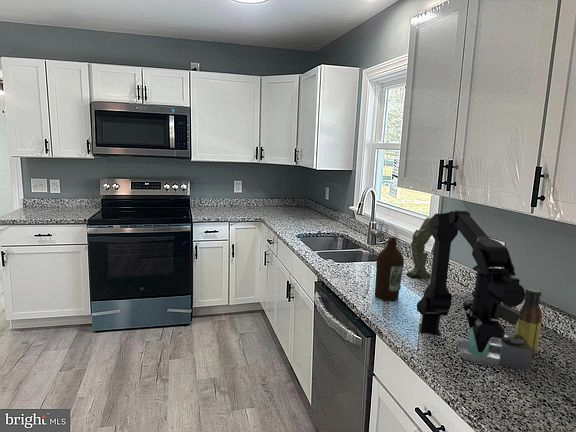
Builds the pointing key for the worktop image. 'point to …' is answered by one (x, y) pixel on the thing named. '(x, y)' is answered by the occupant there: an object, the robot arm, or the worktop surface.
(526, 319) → the sauce bottle
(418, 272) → the mechanical leg
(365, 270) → the worktop surface
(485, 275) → the robot arm
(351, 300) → the worktop surface
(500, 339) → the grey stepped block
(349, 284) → the worktop surface
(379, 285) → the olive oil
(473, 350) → the teal bottle with cap
